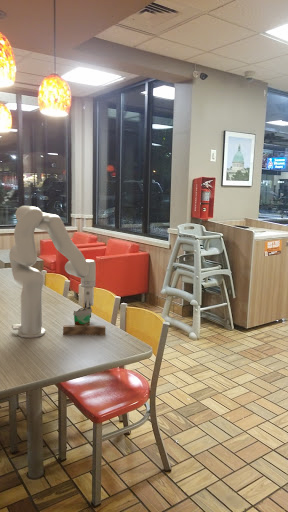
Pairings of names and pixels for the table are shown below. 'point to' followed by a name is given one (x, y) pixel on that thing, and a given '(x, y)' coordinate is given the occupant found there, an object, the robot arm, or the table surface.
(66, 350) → the table surface
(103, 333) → the walnut board
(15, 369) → the table surface
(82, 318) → the food container
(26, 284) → the robot arm
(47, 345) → the table surface
